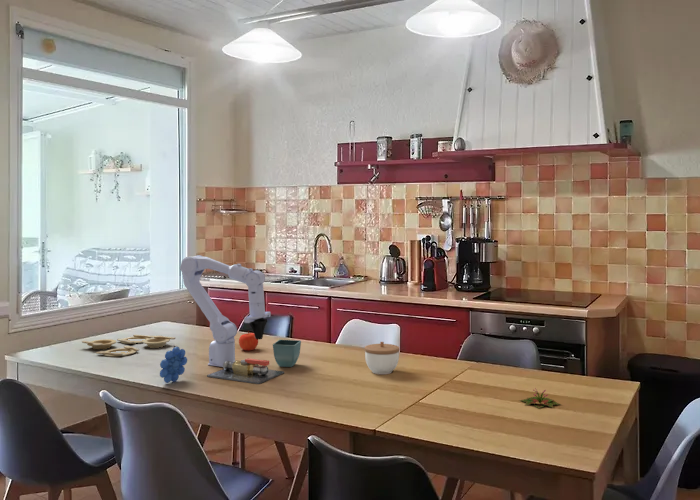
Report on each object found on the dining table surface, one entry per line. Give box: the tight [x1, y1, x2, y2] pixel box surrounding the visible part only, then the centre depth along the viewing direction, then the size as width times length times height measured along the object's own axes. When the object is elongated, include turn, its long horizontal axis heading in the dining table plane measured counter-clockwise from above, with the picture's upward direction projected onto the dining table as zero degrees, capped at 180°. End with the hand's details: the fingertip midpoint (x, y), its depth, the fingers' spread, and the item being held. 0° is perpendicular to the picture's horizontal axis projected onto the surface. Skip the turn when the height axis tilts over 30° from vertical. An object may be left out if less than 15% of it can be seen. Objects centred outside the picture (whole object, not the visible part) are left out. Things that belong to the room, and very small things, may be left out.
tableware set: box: [81, 334, 176, 358], centre depth 270 cm, size 35×29×4 cm
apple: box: [238, 330, 259, 352], centre depth 264 cm, size 8×8×8 cm
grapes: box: [159, 346, 188, 384], centre depth 215 cm, size 12×7×12 cm, turn 147°
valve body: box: [206, 360, 285, 385], centre depth 223 cm, size 22×16×4 cm
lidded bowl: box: [364, 341, 400, 375], centre depth 227 cm, size 13×13×11 cm
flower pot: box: [272, 339, 302, 368], centre depth 236 cm, size 9×9×9 cm
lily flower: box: [518, 387, 562, 409], centre depth 190 cm, size 12×12×5 cm
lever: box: [240, 358, 270, 367], centre depth 222 cm, size 11×3×2 cm, turn 61°
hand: (259, 339), depth 235 cm, fingers closed
